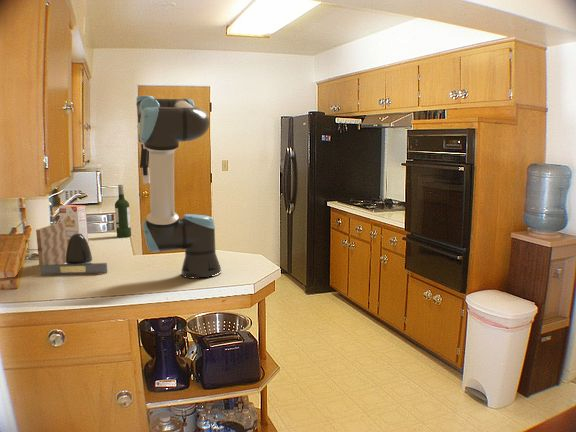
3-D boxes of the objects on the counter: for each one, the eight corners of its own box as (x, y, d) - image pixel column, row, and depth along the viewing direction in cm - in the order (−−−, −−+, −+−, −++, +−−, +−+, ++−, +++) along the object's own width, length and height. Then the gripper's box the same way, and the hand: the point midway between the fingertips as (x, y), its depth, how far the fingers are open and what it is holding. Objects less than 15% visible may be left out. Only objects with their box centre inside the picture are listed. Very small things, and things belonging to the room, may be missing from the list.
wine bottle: (116, 236, 293) (112, 184, 289) (130, 235, 296) (126, 183, 292) (117, 238, 286) (114, 185, 282) (132, 237, 289) (128, 184, 285)
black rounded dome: (95, 266, 216) (93, 231, 215) (89, 271, 206) (86, 235, 204) (71, 267, 216) (68, 232, 214) (63, 272, 205) (59, 236, 203)
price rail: (105, 273, 202) (105, 263, 201) (40, 275, 202) (39, 265, 201) (107, 272, 204) (106, 262, 203) (43, 274, 204) (42, 264, 203)
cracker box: (61, 244, 272) (58, 205, 269) (71, 242, 277) (67, 204, 274) (79, 246, 265) (76, 206, 263) (88, 243, 271) (85, 205, 268)
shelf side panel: (43, 273, 205) (39, 229, 202) (40, 273, 205) (36, 230, 202) (68, 260, 229) (65, 221, 226) (65, 260, 229) (62, 221, 226)
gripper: (146, 134, 230) (149, 180, 233) (130, 132, 205) (133, 184, 208) (163, 133, 230) (165, 180, 233) (148, 131, 205) (151, 183, 208)
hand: (150, 182), depth 220 cm, fingers open, 13 cm apart
